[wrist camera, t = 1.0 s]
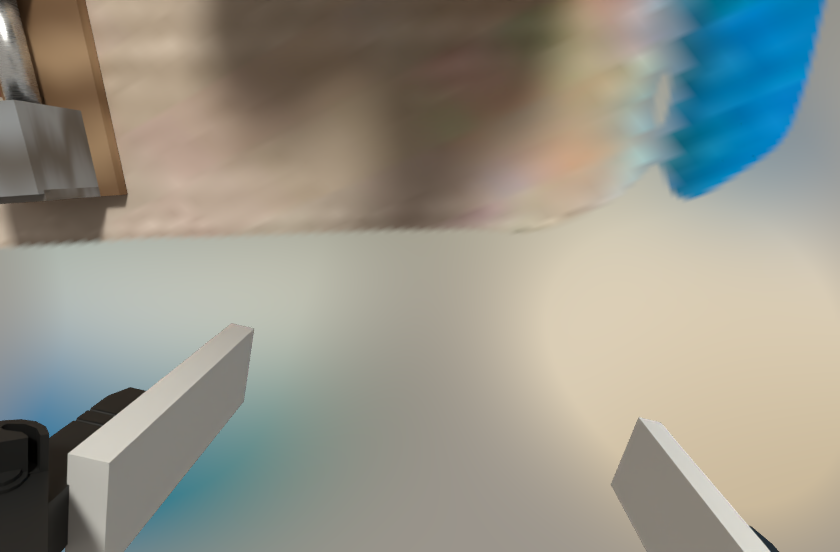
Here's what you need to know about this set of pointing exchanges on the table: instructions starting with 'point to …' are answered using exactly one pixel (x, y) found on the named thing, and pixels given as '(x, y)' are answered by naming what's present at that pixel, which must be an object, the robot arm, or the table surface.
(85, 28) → the base
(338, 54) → the table surface
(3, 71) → the capped metal cylinder
